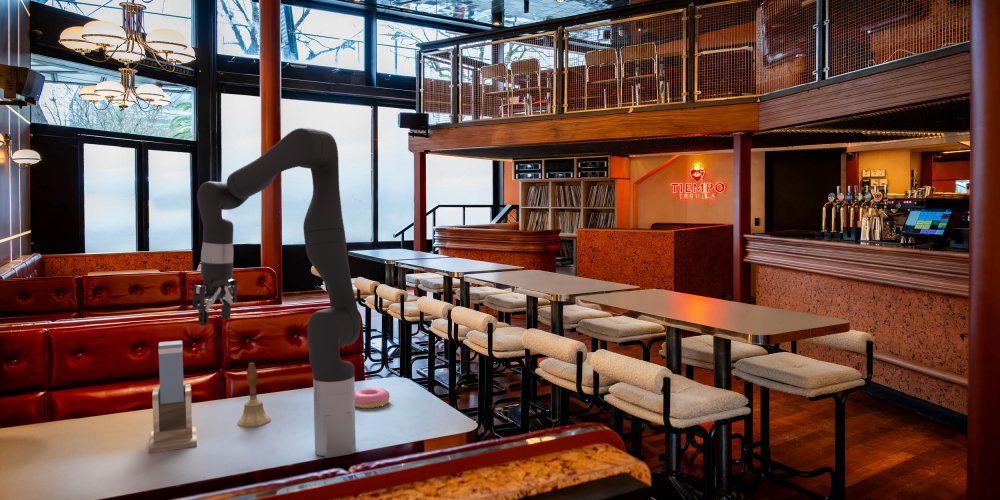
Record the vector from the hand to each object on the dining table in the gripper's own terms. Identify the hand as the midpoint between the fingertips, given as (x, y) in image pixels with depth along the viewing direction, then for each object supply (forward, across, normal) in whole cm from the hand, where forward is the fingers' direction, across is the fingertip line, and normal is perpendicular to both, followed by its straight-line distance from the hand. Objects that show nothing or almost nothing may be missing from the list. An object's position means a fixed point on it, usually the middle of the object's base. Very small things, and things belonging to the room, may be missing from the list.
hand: (214, 322), depth 165 cm
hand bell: (+27, +5, -10) cm, 29 cm away
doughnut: (+26, +26, -33) cm, 49 cm away
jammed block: (+17, -12, +2) cm, 21 cm away
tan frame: (+27, -12, +1) cm, 30 cm away
